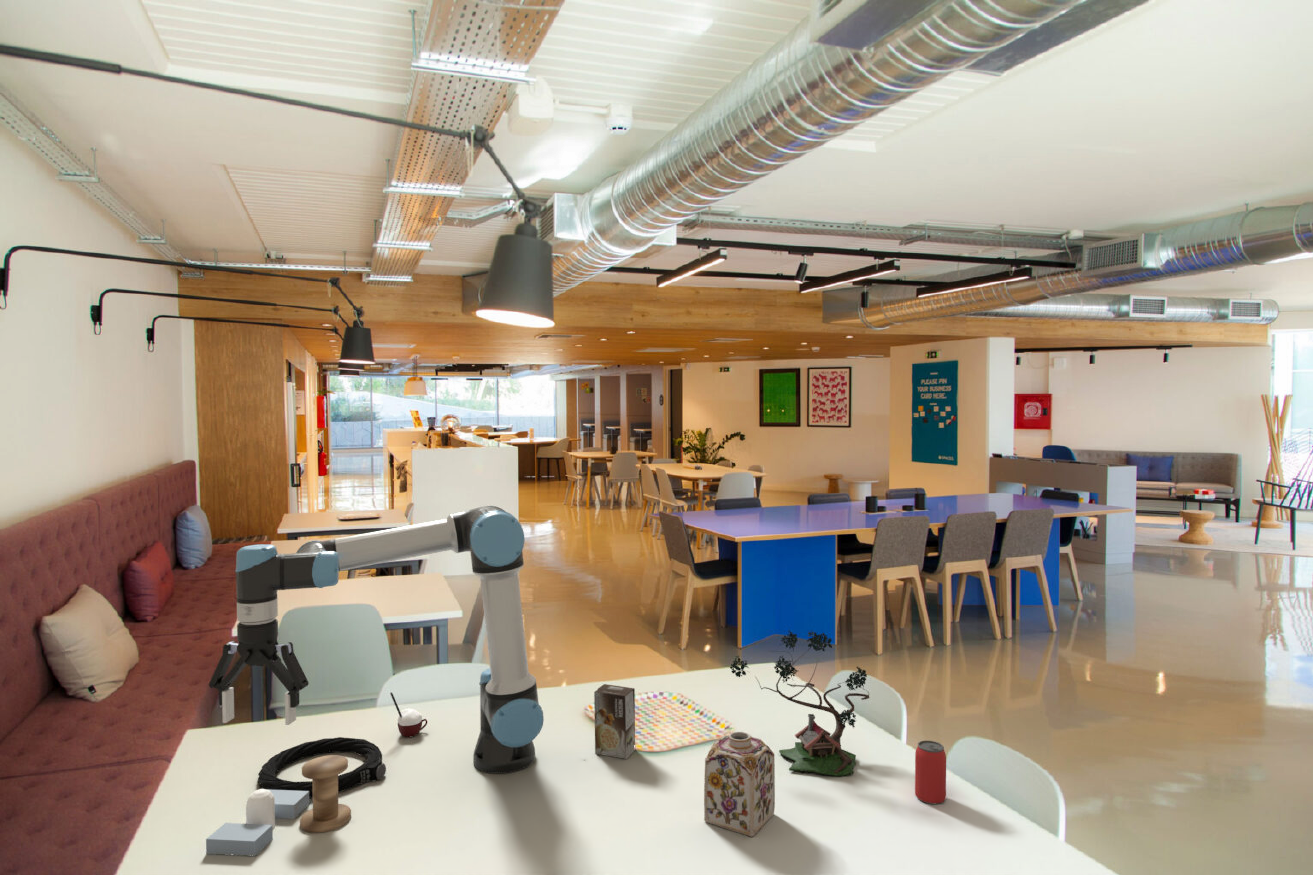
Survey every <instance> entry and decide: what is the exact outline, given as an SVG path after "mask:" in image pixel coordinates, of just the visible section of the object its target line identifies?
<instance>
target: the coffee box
mask: <svg viewBox="0 0 1313 875" xmlns="http://www.w3.org/2000/svg"><path fill="white" fill-rule="evenodd" d="M635 694H636V691H635V688H634V687H629V686H627V687H626V686H621V685H613V684H607V683H606V684H605V683H604V684H602V685H601V686H599V687H598V688H597V690H595V691H594V694H593V695H594V696H593V697H594V702H593V703H594V750H595V751H594V754H598V755H602V756H608V757H613V758H614V757H615V758H619V759H628V758H629V757H630V756H631V755H632V754H633V753H634V752H635V751H634V745H635V746H636V714H635V713H636V711H635V710H636V705H635V704H636V703H635V700H636V699H635V698H636V696H635Z"/></svg>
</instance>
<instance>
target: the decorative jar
mask: <svg viewBox="0 0 1313 875" xmlns="http://www.w3.org/2000/svg"><path fill="white" fill-rule="evenodd" d="M775 766H776V765H775V752H774V751H773V750H772V749H771V748H770V746H768V745H767V744H766V743H765V742H764V741H763V740H762V739H761V738H759V737H755V736H752V735H751V734H749V733H747V732H744V731H734V732H732V733H730V734H729V735H724V736H721V737H719V738H718V739H717V740H715V741H714V742H713V743H712V745H711V747H710V749H709V751H708V752H707V755H706V757H705V758H704V781H703V782H704V783H703V784H704V785H703V786H704V787H703V793H704V794H703V795H704V797H703V802H704V803H703V805H704V807H703V810H704V815H703V816H704V818H703V821H704V822H705V823H708V824H711V825H714V826H717V827H720V828H723V829H725V830H728V831H729V830H730V831H733V832H736V833H738V834H741V835H745V836H747V837H750V838H752V837H754V836H756V834H757V833H758V832H759V831H760V830H761V829H762V827H764V825H765V824H766V823H767V821H769V820H770V819H771V817H772V816H773V815H774V814H775V805H776V798H775V797H776V793H775V791H776V788H775V787H776V786H775V783H776V782H775V780H776V779H775V778H776V772H775V771H776V770H775Z"/></svg>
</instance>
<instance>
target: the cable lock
mask: <svg viewBox="0 0 1313 875" xmlns="http://www.w3.org/2000/svg"><path fill="white" fill-rule="evenodd" d="M338 752H339V753H353V754H357V755H359V754H360V756H363V757H366V759H367V760H365V762H363V763H362V764H361V765H359V766H358V767H356V768H355V769H353V770H351V771H348V772H345V773H343V774H342V773H341V774H338V793H340V792H343V791H346V790H349V789H351V788H353V787H355V786H357V785H363V784H366V783H369V781H371V782H376V781H377V780H378V781H380V780H382V779H384V777H385V775H386V772H387V770H386V764H385V763H383V753H382V751H381V749H380V748H379V747H378V746H377V745H376V744H375V743H374V742H373V743H372V742H370V741H368V740H366V739H365V738H364V739H363V738H355V737H341V736H340V737H339V736H337V737H333V738H332V737H331V738H330V737H329V738H327V737H326V738H321V739H317V740H313V741H305V742H302V743H300V744H297V745H295V746H293V747H290V748H287V749H285V750H282V751H280V752H279V753H277V754H275V755H272V757H271V758H269V759H268V760H267V761H266V762H265V763H264V764H263V765H262V766H261V769H260V770H259V772H258V774H257V776H258V777H257V783H259V786H260V789H269V790H293V791H309V798H313V785H312V780H311V781H291V780H286V779H281V778H279V777H277V775H276V774H277V773H278V772H279V771H280V770H282V769H283V768H285V767H286V766H287V765H290V764H292V763H294V762H297V761H298V760H300V759H304V758H308V756H309V757H312V756H316V755H321V754H330V753H338Z"/></svg>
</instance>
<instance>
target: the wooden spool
mask: <svg viewBox="0 0 1313 875" xmlns="http://www.w3.org/2000/svg"><path fill="white" fill-rule="evenodd" d="M348 767H349V760H348V758H347V757H346V756H343V755H338V754H330V755H322V756H318V757H315V758H312V759H310V760H308V761H307V762H306V763H304V764H303V765H302V767H301V775H302V777H304V778H306V779H309V780H311V781H312V785H313V797H312V808H311V809H309V810H307V811H306V812H304V813H303V814H302V815H301V817H300V818H299V827H300V829H301V830H302V831H304V832H306V833H310V834H311V833H312V834H319V833H320V834H322V833H326V832H331V831H334V830H337V829H339V828H341V827H342V826H345V825H346V824H348V822H350V820H351V818H352V810H351V807H349V805H347V804H343V803H339V792H338V776H339V775H341V774H342V773H344V772H345V771H347V769H348Z"/></svg>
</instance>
